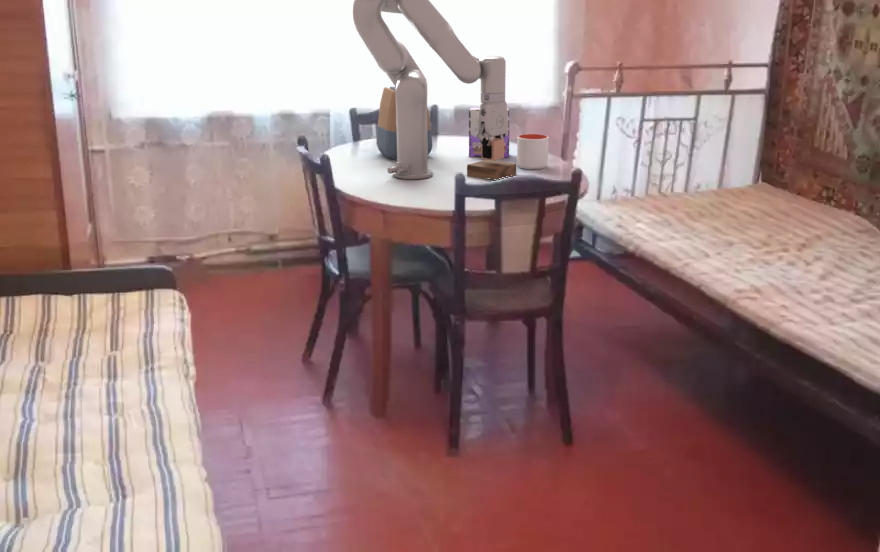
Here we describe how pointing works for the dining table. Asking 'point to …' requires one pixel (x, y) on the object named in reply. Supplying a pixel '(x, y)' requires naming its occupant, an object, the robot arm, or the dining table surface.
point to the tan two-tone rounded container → (392, 125)
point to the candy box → (473, 131)
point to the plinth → (491, 169)
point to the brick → (496, 148)
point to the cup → (532, 151)
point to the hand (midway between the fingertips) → (492, 155)
